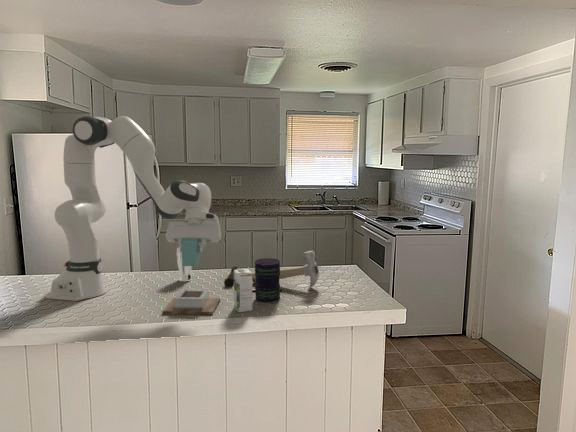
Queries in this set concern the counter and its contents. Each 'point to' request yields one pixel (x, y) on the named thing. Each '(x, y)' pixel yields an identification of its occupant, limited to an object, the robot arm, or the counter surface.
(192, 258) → the teal peg
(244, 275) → the syrup box
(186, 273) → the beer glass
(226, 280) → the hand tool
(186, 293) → the socket
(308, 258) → the hammer
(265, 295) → the storage jar
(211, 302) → the walnut board
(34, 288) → the counter surface
